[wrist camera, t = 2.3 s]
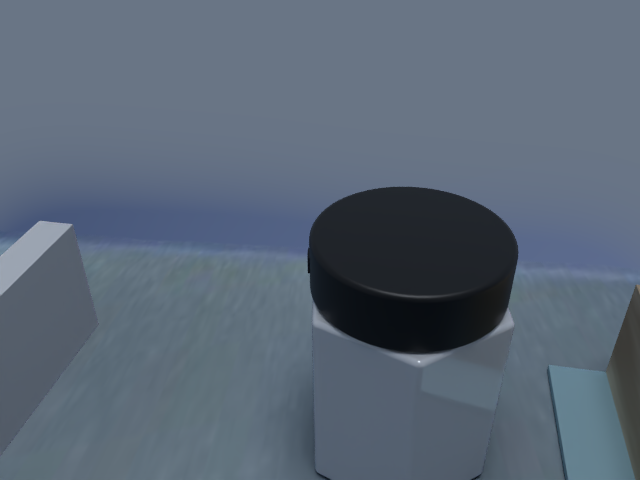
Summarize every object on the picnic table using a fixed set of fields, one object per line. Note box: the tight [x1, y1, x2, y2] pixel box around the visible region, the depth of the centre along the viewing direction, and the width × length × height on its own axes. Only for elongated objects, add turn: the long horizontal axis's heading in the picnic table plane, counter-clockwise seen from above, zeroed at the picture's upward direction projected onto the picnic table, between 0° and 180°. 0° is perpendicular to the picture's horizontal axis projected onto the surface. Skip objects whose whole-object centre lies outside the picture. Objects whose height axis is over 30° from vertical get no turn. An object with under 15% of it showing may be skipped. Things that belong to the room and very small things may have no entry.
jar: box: [308, 187, 518, 480], centre depth 27 cm, size 9×8×12 cm
